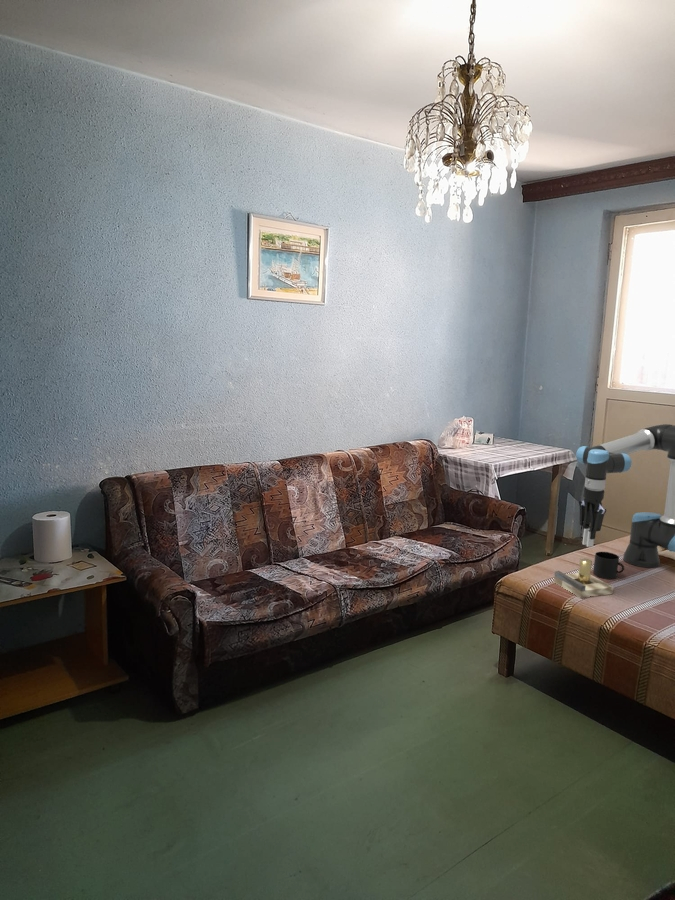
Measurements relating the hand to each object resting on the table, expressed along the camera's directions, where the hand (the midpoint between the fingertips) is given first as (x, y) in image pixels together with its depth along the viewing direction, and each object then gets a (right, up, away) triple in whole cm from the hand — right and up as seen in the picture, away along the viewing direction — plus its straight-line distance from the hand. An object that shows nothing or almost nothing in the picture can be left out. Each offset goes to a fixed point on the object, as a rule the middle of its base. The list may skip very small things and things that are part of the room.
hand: (587, 545), depth 256 cm
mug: (+16, -16, +18) cm, 29 cm away
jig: (-1, -18, +4) cm, 18 cm away
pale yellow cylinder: (-1, -18, +4) cm, 18 cm away
